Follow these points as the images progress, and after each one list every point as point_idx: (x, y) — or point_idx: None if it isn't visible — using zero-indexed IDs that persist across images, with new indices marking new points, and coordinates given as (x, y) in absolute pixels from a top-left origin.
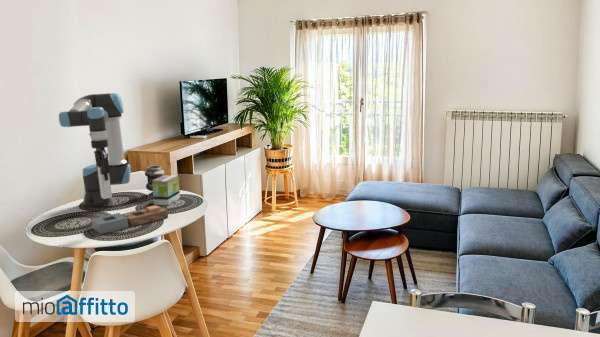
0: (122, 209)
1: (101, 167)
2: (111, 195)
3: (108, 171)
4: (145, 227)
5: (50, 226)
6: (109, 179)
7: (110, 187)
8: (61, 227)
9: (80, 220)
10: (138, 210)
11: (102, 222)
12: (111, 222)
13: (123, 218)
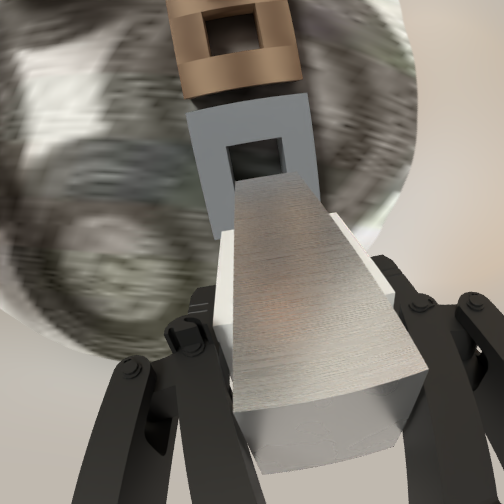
0: (30, 100)
1: (399, 434)
2: (299, 177)
3: (486, 315)
4: (341, 40)
5: (123, 329)
6: (340, 233)
7: (315, 198)
8: (147, 307)
9: (94, 252)
10: (173, 22)
11: None
12: (316, 168)
13: (301, 110)
